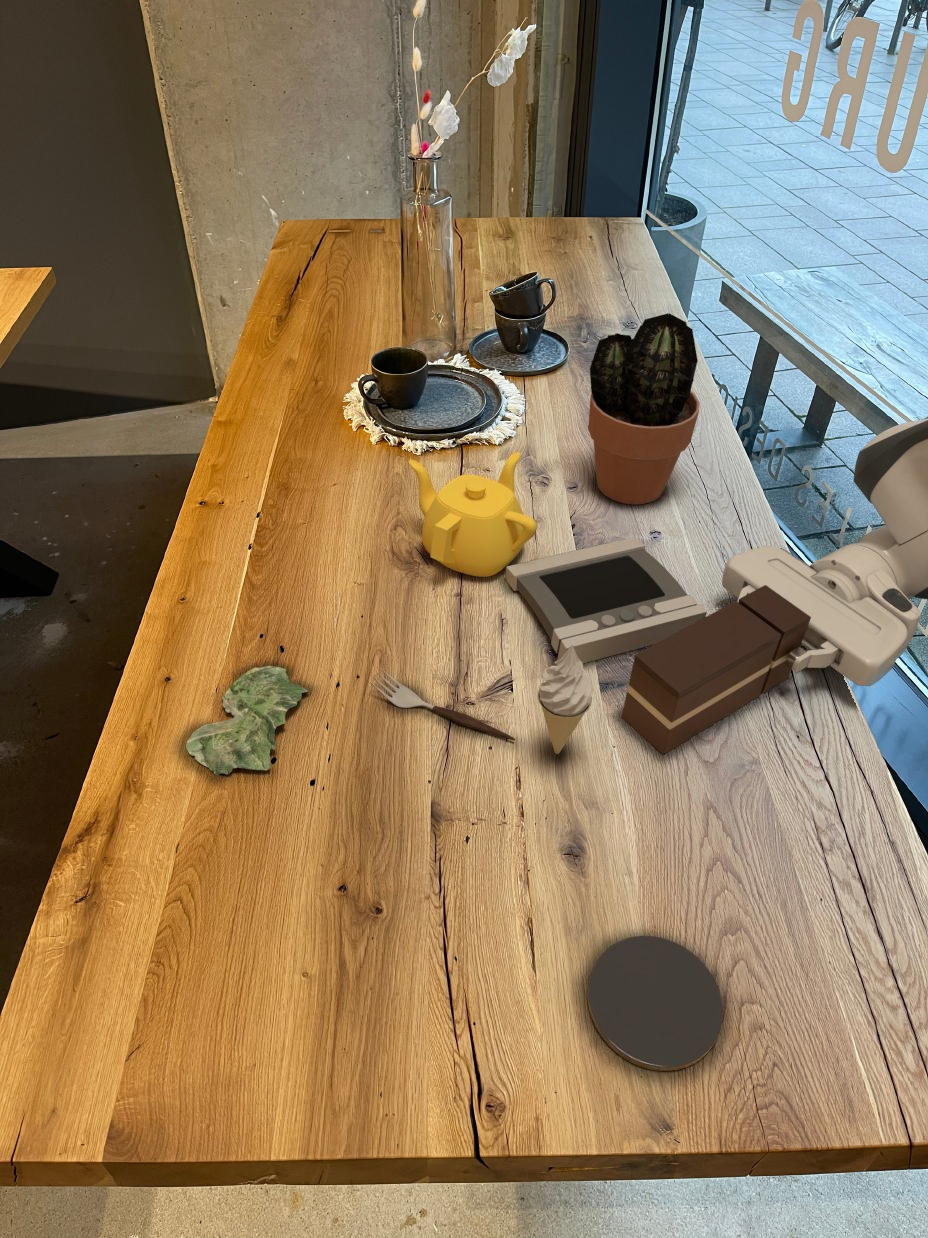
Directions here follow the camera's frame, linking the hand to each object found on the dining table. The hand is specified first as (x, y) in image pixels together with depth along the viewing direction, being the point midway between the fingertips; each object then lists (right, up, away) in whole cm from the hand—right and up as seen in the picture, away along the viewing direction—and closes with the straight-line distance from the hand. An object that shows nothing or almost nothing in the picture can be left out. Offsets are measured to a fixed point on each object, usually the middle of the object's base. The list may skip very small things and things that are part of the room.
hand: (759, 639), depth 95 cm
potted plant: (-8, +20, +29) cm, 36 cm away
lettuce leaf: (-52, -8, -3) cm, 53 cm away
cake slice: (+1, -3, +4) cm, 5 cm away
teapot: (-30, +11, +18) cm, 37 cm away
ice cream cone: (-22, -11, -5) cm, 25 cm away
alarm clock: (-15, +4, +11) cm, 19 cm away
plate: (-16, -28, -23) cm, 40 cm away
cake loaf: (-7, -7, 0) cm, 10 cm away
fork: (-33, -8, -2) cm, 34 cm away
